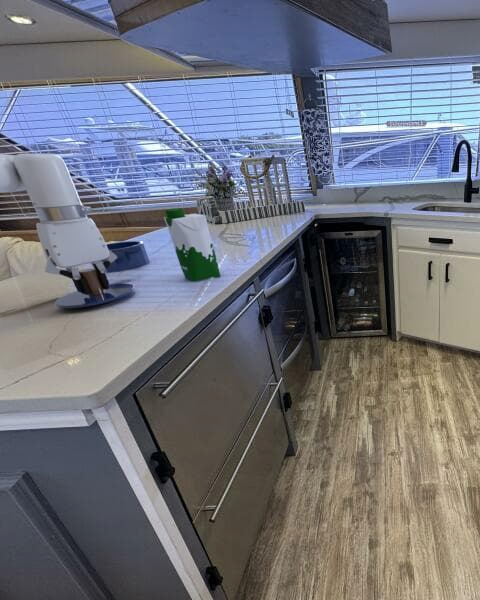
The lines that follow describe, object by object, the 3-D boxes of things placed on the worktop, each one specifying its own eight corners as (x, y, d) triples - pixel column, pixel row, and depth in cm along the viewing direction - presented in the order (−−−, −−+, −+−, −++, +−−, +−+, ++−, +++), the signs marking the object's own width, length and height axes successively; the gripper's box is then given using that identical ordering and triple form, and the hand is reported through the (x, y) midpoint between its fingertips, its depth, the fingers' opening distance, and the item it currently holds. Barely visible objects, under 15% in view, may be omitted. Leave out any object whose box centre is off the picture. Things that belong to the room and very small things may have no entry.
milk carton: (181, 279, 94) (158, 209, 86) (213, 271, 101) (194, 205, 93) (192, 285, 89) (169, 211, 81) (225, 276, 96) (207, 207, 88)
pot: (117, 281, 95) (105, 253, 91) (85, 274, 103) (74, 248, 99) (165, 268, 106) (156, 243, 102) (133, 263, 114) (124, 239, 110)
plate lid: (75, 314, 70) (60, 284, 67) (45, 304, 76) (31, 275, 73) (147, 292, 82) (137, 265, 79) (117, 284, 88) (107, 259, 85)
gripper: (98, 209, 80) (125, 279, 87) (2, 219, 66) (43, 301, 73) (114, 210, 76) (140, 282, 84) (17, 221, 63) (58, 306, 70)
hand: (95, 290), depth 78 cm, fingers closed on plate lid, 3 cm apart
